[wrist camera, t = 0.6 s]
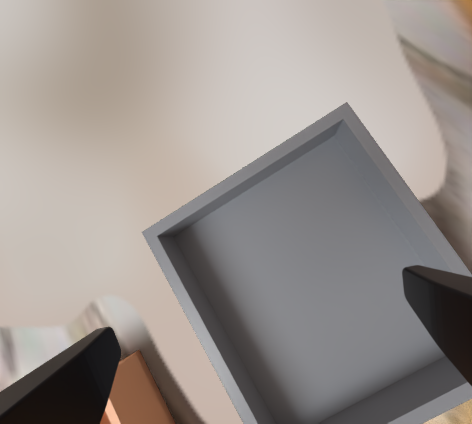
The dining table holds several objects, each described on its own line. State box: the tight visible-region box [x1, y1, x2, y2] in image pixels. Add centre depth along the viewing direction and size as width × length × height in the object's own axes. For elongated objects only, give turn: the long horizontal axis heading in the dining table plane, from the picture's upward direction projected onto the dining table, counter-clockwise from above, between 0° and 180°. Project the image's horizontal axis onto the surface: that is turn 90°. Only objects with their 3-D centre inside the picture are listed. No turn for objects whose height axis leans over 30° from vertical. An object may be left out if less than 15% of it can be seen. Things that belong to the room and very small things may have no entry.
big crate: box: [142, 102, 472, 424], centre depth 20 cm, size 18×16×4 cm
